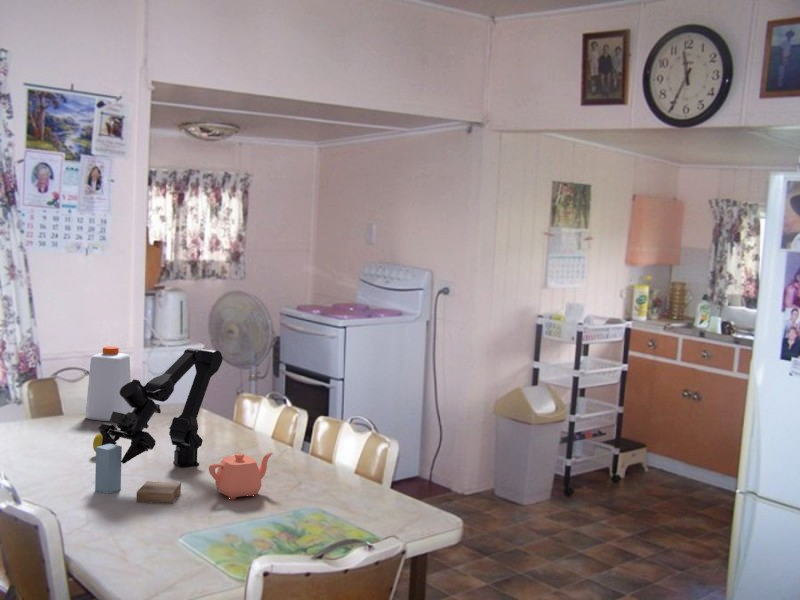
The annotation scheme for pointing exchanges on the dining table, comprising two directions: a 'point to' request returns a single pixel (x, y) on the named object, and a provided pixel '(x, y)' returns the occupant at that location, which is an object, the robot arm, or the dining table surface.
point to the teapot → (239, 475)
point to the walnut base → (158, 492)
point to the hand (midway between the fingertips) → (110, 460)
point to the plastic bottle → (107, 384)
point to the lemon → (97, 441)
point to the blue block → (108, 468)
